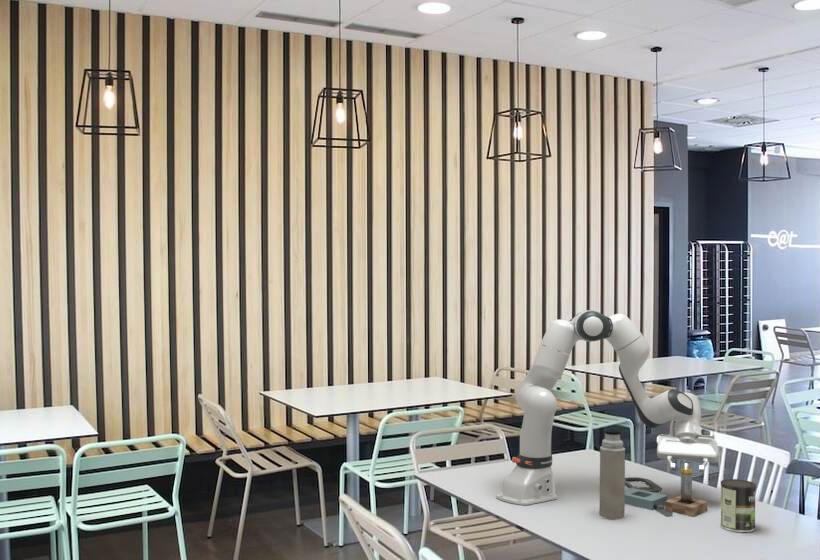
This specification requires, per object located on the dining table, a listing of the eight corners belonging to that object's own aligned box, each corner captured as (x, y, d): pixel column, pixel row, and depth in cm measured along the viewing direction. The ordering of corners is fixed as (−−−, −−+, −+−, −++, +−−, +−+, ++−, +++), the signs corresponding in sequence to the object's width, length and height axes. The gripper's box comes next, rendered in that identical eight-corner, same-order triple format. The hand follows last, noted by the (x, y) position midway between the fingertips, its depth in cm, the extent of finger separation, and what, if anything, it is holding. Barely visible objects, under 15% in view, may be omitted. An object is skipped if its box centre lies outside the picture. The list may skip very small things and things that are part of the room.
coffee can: (758, 526, 268) (758, 481, 268) (751, 535, 259) (752, 489, 259) (723, 520, 274) (724, 477, 273) (716, 529, 265) (717, 484, 264)
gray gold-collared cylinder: (688, 512, 282) (689, 464, 281) (678, 510, 284) (678, 462, 284) (694, 510, 284) (694, 462, 284) (683, 508, 287) (684, 461, 286)
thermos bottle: (600, 510, 283) (601, 427, 283) (625, 513, 281) (626, 429, 280) (598, 517, 276) (598, 432, 275) (623, 520, 273) (624, 433, 273)
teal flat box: (652, 510, 284) (652, 501, 284) (615, 501, 295) (615, 492, 294) (667, 504, 291) (667, 495, 291) (631, 495, 301) (631, 487, 301)
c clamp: (667, 496, 304) (667, 488, 304) (619, 496, 303) (619, 488, 303) (650, 481, 324) (650, 474, 324) (605, 481, 324) (605, 474, 324)
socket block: (692, 516, 277) (692, 507, 277) (664, 510, 284) (665, 501, 284) (707, 510, 284) (707, 501, 284) (679, 504, 291) (679, 495, 291)
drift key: (672, 516, 278) (672, 510, 278) (666, 516, 277) (666, 511, 277) (659, 509, 286) (659, 503, 286) (654, 509, 285) (654, 504, 285)
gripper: (656, 428, 298) (654, 462, 289) (718, 432, 291) (719, 467, 282) (656, 438, 302) (655, 472, 293) (718, 442, 295) (718, 477, 286)
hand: (687, 470), depth 287 cm, fingers open, 8 cm apart
